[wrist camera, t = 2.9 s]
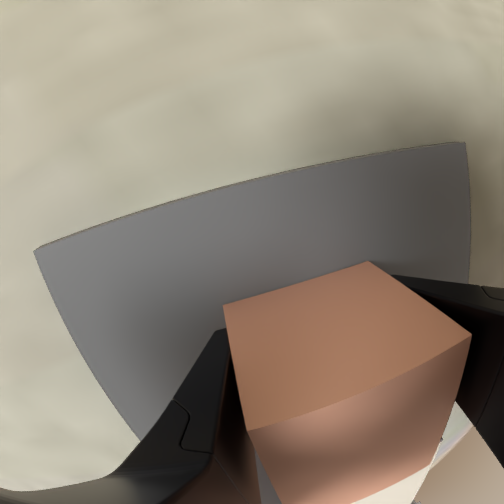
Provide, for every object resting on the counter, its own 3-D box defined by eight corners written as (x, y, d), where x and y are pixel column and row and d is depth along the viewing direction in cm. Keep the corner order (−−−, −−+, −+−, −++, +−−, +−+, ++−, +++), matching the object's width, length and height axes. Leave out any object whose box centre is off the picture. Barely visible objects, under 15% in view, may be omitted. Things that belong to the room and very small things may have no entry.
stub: (372, 384, 12) (429, 464, 7) (262, 423, 11) (291, 523, 7) (368, 260, 10) (472, 334, 5) (222, 305, 9) (246, 431, 5)
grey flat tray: (419, 458, 17) (451, 503, 12) (228, 524, 16) (238, 581, 11) (455, 141, 10) (568, 154, 4) (41, 246, 8) (-65, 326, 3)
